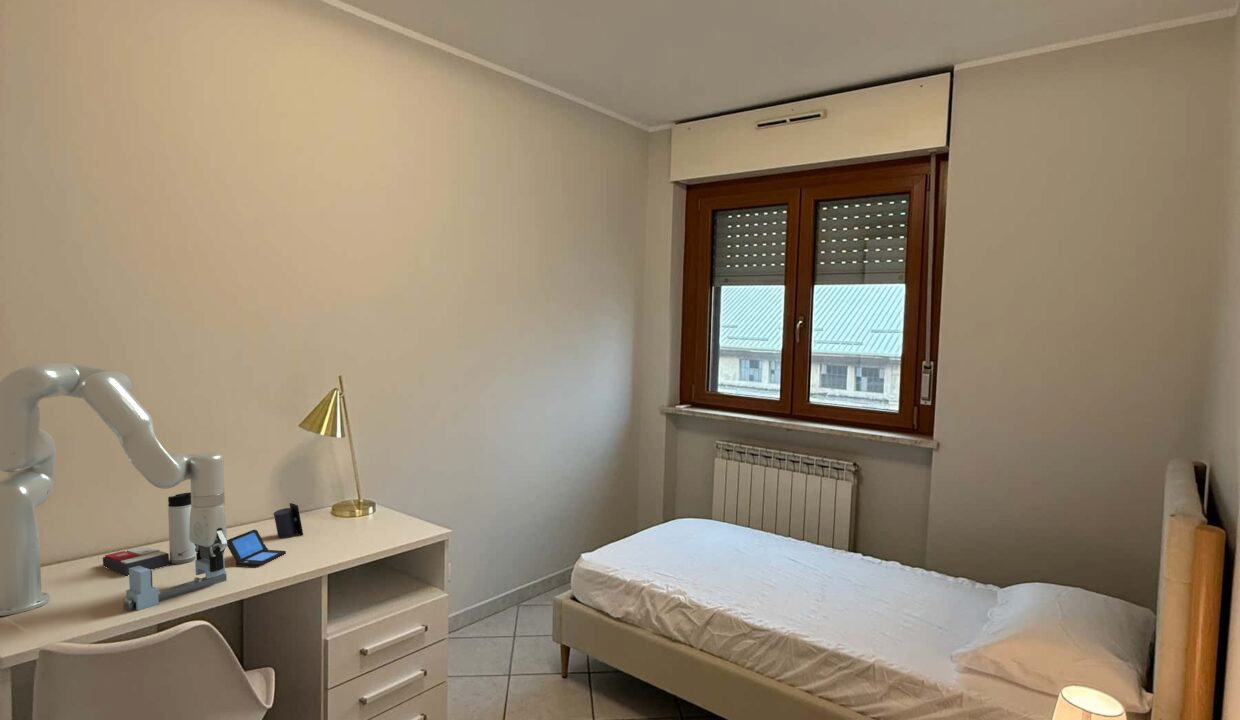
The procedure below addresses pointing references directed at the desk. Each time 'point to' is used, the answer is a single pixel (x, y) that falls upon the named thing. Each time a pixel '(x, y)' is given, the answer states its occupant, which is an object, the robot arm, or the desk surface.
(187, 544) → the travel mug
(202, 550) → the notched grey block
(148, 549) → the calculator
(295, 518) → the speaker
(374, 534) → the desk surface
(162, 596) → the rail
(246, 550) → the handheld game console
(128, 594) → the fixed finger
